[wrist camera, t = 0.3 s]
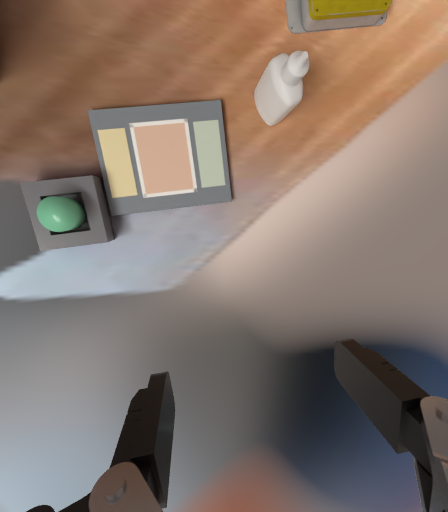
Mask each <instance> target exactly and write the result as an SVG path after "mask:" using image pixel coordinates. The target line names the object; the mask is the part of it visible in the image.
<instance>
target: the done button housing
mask: <svg viewBox="0 0 448 512" xmlns="http://www.w3.org/2000/svg"><path fill="white" fill-rule="evenodd" d="M20 185H21V189H22V192H23V195H24V199H25V202H26V205H27V208H28V212H29V215H30V218H31V222H32V225H33V228H34V232H35V235H36V238H37V242H38V245H39V248H40V251H44V250H51V249H59V248H67V247H74V246H82V245H89V244H97V243H105V242H109V241H112V240H114V239H115V237H114V232H113V228H112V223H111V219H110V215H109V210H108V206H107V201H106V197H105V192H104V188H103V184H102V179H101V178H100V177H96V176H93V175H91V176H81V177H72V178H62V179H53V180H43V181H34V182H24V183H20ZM51 196H56V197H69V198H73V199H75V200H77V201H78V202H80V203H81V205H82V206H83V207H84V209H85V213H86V218H85V221H84V223H83V224H82V225H81V226H80V227H79V228H77V229H73V230H68V231H63V232H54V231H51V230H48V229H47V228H45V227H44V226H43V225H42V224H41V223H40V221H39V219H38V217H37V207H38V205H39V203H40V202H41V201H42V200H43V199H45V198H47V197H51Z"/></svg>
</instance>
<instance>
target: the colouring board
mask: <svg viewBox="0 0 448 512" xmlns="http://www.w3.org/2000/svg"><path fill="white" fill-rule="evenodd" d="M88 114H89V118H90V123H91V127H92V132H93V136H94V141H95V145H96V149H97V154H98V158H99V163H100V167H101V172H102V176H103V181H104V185H105V190H106V194H107V198H108V203H109V207H110V212H111V216H115V215H124V214H132V213H140V212H148V211H156V210H165V209H173V208H181V207H189V206H198V205H206V204H214V203H222V202H231V201H232V199H231V190H230V181H229V172H228V162H227V153H226V144H225V134H224V125H223V116H222V107H221V100H214V101H201V102H189V103H176V104H163V105H151V106H138V107H125V108H113V109H100V110H88Z"/></svg>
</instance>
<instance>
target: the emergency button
mask: <svg viewBox="0 0 448 512" xmlns="http://www.w3.org/2000/svg"><path fill="white" fill-rule="evenodd" d="M390 4H391V0H286V12H287V25H288V29H289V31H290V32H291V33H294V34H300V33H310V32H320V31H330V30H340V29H350V28H360V27H370V26H379V25H382V24H383V23H384V22H385V21H386V17H387V9H388V8H389V6H390Z"/></svg>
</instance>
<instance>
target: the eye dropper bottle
mask: <svg viewBox="0 0 448 512" xmlns="http://www.w3.org/2000/svg"><path fill="white" fill-rule="evenodd" d="M309 64H310V63H309V58H308V53H307V52H306V51H304V52H302V51H295V52H293V53H292V54H291V55H290V56H289V55H288V54H286V53H282V54H279V55H277V56H276V57H274V58H273V59H272V60H271V61H270V62H269V64H268V66H267V67H266V69H265V71H264V73H263V75H262V77H261V79H260V81H259V82H258V84H257V86H256V88H255V92H254V95H255V103H256V107H257V110H258V112H259V114H260V116H261V118H262V119H263V120H264V122H265V123H266V124H267V125H269V126H273V125H275V124H277V123H279V122H280V121H281V120H283V119H284V118H285V117H286V116H287V115H288V114H289V113H290V112H291V111H292V110H293V109H294V108H295V107H296V106H297V105H298V103H299V102H300V101H301V100H302V96H303V82H302V78H303V77H304V76H305V74H306V73H307V72H308V70H309Z"/></svg>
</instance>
